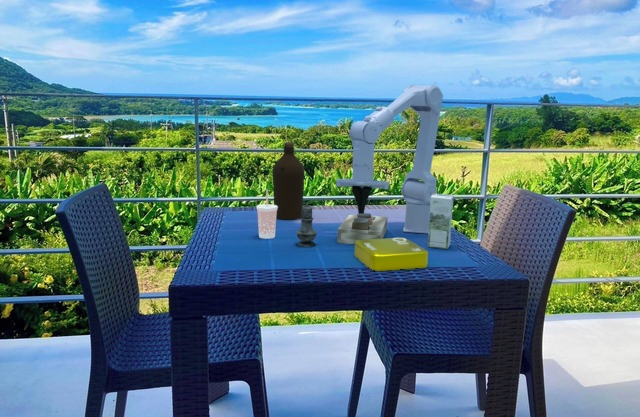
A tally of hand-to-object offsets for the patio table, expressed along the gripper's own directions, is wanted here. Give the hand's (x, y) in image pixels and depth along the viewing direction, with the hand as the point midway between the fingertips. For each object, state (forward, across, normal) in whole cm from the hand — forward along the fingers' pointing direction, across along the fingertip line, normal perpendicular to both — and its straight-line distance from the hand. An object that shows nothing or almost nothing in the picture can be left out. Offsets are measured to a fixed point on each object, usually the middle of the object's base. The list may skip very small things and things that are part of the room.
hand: (361, 212), depth 159 cm
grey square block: (+8, 0, +6) cm, 11 cm away
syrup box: (+8, +22, +2) cm, 24 cm away
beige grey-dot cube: (+6, 0, +6) cm, 9 cm away
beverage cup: (+9, -27, -2) cm, 28 cm away
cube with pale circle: (+6, 0, 0) cm, 6 cm away
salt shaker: (+9, -14, -8) cm, 18 cm away
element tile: (+9, +10, -16) cm, 21 cm away
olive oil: (+9, -28, +24) cm, 38 cm away
